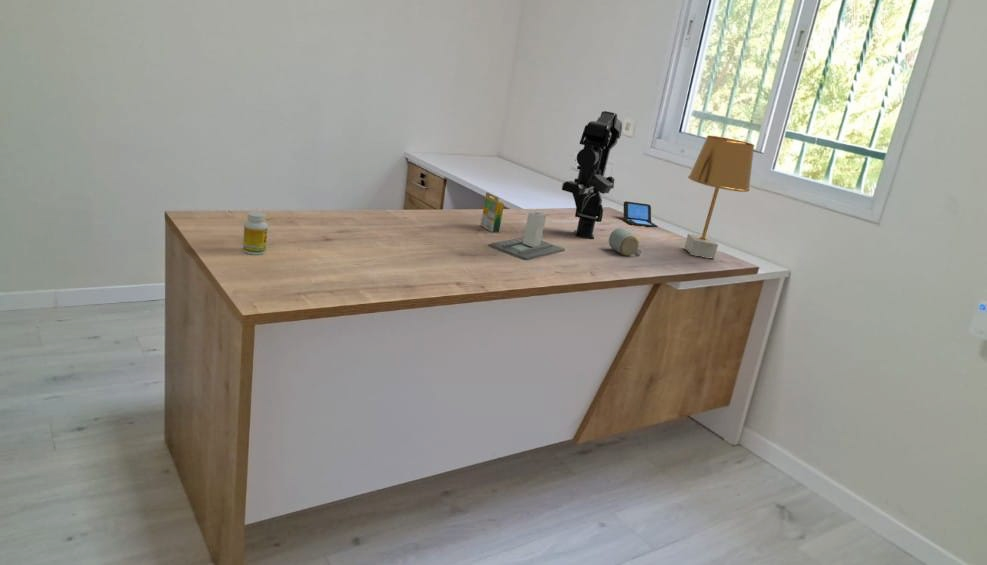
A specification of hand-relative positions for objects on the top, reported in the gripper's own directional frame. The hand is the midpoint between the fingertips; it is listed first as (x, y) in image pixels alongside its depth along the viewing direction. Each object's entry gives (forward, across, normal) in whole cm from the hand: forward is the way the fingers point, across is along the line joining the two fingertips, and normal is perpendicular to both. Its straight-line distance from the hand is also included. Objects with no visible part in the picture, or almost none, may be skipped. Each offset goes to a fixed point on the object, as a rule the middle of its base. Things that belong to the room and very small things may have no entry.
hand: (579, 213), depth 219 cm
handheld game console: (+12, +66, +7) cm, 68 cm away
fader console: (+12, -15, +7) cm, 21 cm away
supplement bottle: (+12, -93, +36) cm, 100 cm away
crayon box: (+12, -10, +26) cm, 30 cm away
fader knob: (+11, -13, +7) cm, 19 cm away
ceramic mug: (+12, +17, -11) cm, 23 cm away
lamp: (+12, +47, -26) cm, 55 cm away
